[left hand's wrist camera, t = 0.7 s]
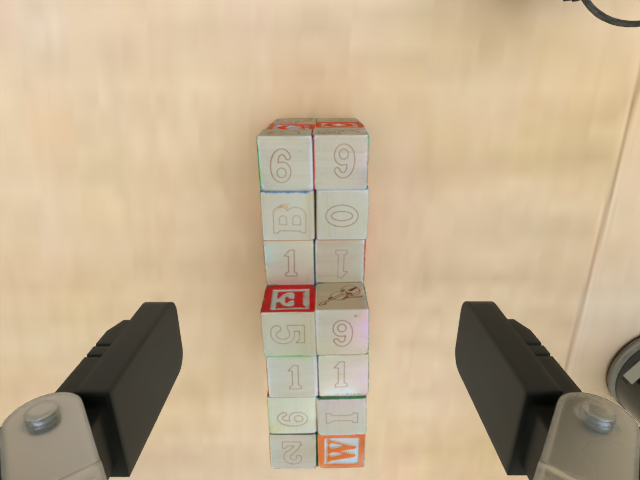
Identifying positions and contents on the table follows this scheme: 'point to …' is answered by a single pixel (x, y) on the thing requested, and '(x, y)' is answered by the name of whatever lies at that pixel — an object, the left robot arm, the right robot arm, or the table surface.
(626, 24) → the grenade
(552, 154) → the table surface
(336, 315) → the stack of blocks
